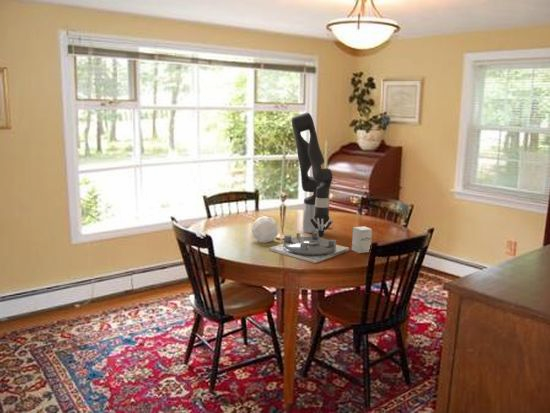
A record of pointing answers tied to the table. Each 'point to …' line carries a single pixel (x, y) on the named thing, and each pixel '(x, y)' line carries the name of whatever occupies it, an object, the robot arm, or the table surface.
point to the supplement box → (361, 239)
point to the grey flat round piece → (309, 245)
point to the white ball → (265, 229)
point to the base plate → (309, 258)
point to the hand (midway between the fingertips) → (321, 236)
